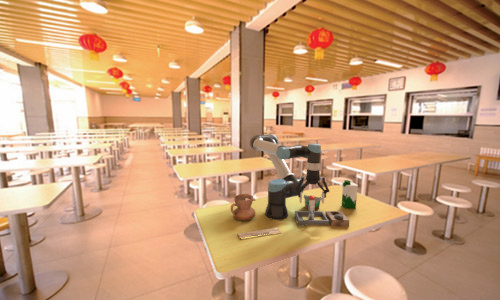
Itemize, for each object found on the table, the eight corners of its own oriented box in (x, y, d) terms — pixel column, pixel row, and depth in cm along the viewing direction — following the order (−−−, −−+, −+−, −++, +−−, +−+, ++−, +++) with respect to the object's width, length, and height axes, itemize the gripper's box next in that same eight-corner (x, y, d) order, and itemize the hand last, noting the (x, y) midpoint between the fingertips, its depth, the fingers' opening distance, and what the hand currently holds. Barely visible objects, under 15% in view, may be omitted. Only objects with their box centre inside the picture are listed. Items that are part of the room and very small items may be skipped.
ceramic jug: (250, 210, 147) (249, 191, 145) (261, 218, 134) (260, 197, 132) (226, 216, 138) (225, 196, 136) (236, 226, 126) (235, 203, 124)
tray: (298, 225, 125) (298, 220, 125) (294, 216, 138) (295, 211, 138) (329, 226, 125) (329, 221, 124) (322, 216, 138) (322, 211, 137)
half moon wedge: (301, 210, 147) (301, 196, 146) (303, 206, 153) (303, 193, 151) (319, 213, 142) (320, 199, 140) (321, 210, 147) (321, 196, 146)
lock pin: (308, 221, 130) (309, 197, 127) (307, 218, 133) (308, 195, 131) (314, 221, 129) (315, 197, 127) (313, 218, 133) (314, 195, 131)
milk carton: (339, 205, 155) (341, 179, 152) (352, 205, 155) (353, 179, 152) (344, 210, 147) (346, 182, 144) (357, 210, 147) (360, 182, 144)
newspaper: (276, 229, 123) (276, 226, 123) (281, 235, 116) (281, 232, 116) (237, 235, 117) (237, 232, 116) (240, 242, 110) (240, 239, 110)
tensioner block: (331, 227, 123) (332, 217, 122) (325, 218, 135) (325, 208, 134) (348, 228, 123) (349, 217, 122) (340, 218, 135) (341, 208, 134)
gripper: (293, 170, 123) (292, 204, 127) (336, 171, 122) (334, 205, 126) (291, 167, 131) (290, 199, 134) (332, 167, 130) (329, 200, 133)
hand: (311, 202), depth 130 cm, fingers open, 13 cm apart
